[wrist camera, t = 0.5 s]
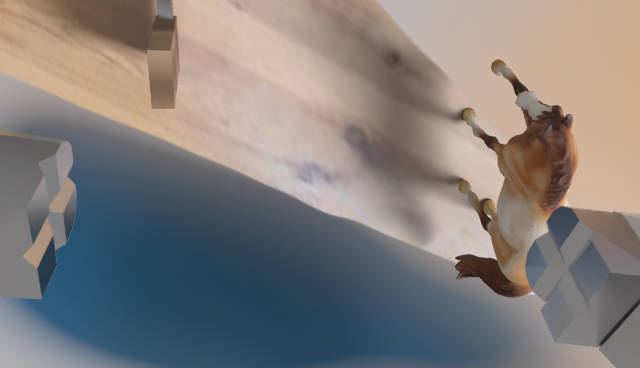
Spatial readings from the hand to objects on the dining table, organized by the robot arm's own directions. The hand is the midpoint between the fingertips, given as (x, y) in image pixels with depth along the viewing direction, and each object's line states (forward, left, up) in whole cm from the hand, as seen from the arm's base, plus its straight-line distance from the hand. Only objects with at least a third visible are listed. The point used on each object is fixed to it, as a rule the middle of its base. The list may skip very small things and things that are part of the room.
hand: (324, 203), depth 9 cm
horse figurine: (+27, +27, -47) cm, 60 cm away
